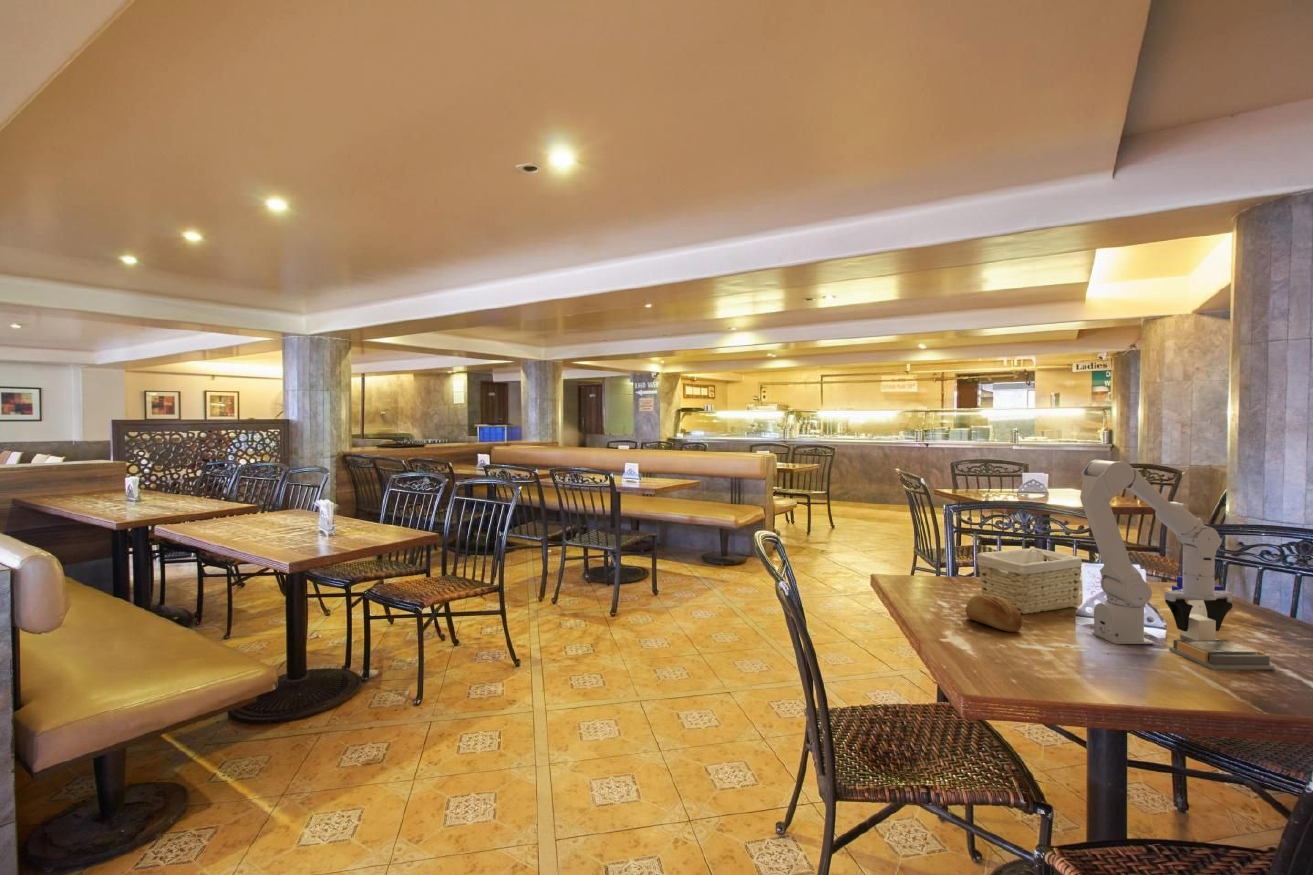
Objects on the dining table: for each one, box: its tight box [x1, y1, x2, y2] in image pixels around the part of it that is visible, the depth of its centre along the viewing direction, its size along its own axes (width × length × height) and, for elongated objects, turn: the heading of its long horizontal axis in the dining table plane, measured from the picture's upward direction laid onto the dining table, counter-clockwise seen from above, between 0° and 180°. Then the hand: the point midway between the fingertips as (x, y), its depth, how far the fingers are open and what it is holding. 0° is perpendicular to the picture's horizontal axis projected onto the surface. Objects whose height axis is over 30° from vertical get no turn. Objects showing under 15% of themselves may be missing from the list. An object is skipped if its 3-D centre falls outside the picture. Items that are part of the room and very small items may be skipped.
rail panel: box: [1169, 639, 1275, 670], centre depth 133 cm, size 13×11×3 cm
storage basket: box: [976, 547, 1083, 615], centre depth 175 cm, size 24×16×15 cm
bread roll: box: [965, 593, 1023, 632], centre depth 156 cm, size 10×15×8 cm, turn 20°
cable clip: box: [1171, 575, 1224, 591], centre depth 178 cm, size 12×4×6 cm, turn 0°
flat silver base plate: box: [1183, 641, 1258, 656], centre depth 133 cm, size 11×6×1 cm, turn 90°
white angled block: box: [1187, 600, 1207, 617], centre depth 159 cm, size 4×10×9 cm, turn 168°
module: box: [1179, 614, 1217, 640], centre depth 144 cm, size 4×5×6 cm
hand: (1198, 629), depth 144 cm, fingers open, 7 cm apart
